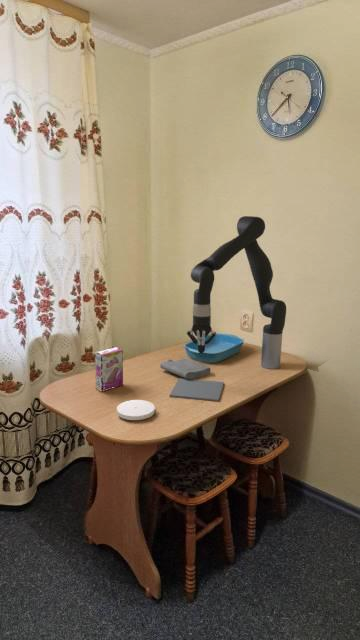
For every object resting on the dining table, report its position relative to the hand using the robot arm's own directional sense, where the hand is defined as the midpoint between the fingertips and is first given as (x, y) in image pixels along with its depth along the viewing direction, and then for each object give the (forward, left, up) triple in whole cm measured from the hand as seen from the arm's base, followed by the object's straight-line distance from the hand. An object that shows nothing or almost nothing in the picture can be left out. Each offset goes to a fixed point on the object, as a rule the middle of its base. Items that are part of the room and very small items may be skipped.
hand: (201, 352), depth 187 cm
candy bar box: (+13, -37, -14) cm, 42 cm away
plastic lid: (+34, -19, -15) cm, 42 cm away
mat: (+8, 0, -14) cm, 16 cm away
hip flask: (-6, -2, -12) cm, 14 cm away
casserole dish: (-41, +1, -15) cm, 44 cm away
